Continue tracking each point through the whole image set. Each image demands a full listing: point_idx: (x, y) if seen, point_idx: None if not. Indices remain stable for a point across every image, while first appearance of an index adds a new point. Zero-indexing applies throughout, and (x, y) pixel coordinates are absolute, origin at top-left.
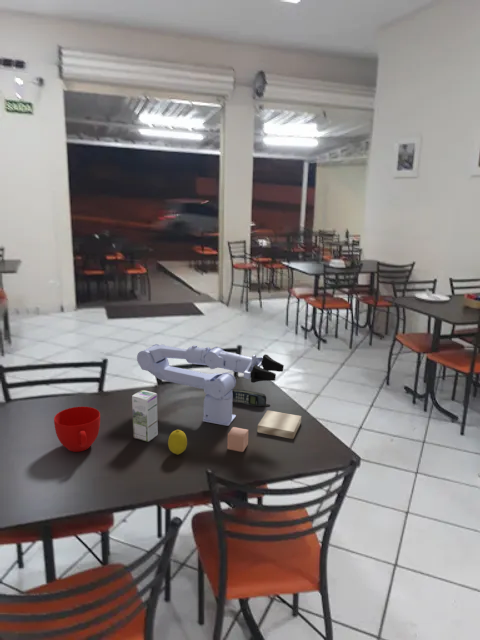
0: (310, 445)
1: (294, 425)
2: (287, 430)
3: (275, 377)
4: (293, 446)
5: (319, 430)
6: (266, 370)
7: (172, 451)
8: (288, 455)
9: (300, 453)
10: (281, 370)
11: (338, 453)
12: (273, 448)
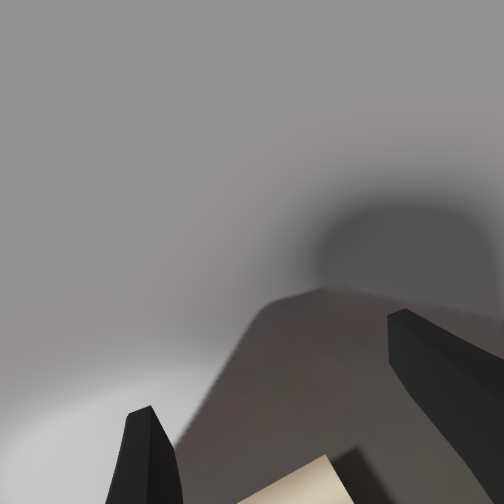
0: (314, 395)
1: (272, 497)
2: (340, 484)
3: (392, 341)
4: (376, 429)
5: (189, 449)
6: (474, 374)
7: None
8: None
9: (389, 380)
10: (171, 454)
11: (285, 321)
12: (471, 472)
